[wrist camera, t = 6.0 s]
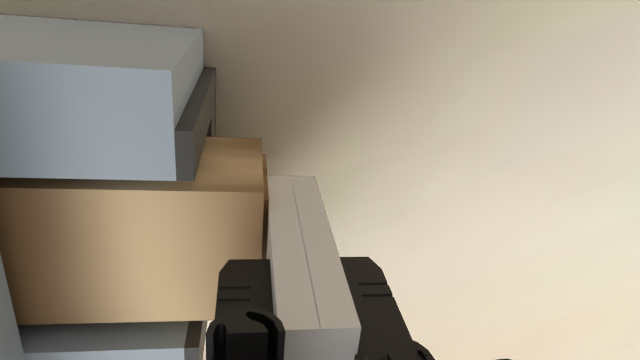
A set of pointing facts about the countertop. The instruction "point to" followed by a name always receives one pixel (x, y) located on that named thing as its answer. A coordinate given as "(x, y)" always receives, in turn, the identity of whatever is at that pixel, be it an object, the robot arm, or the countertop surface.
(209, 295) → the peg
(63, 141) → the sleeve block
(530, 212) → the countertop surface
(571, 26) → the countertop surface
